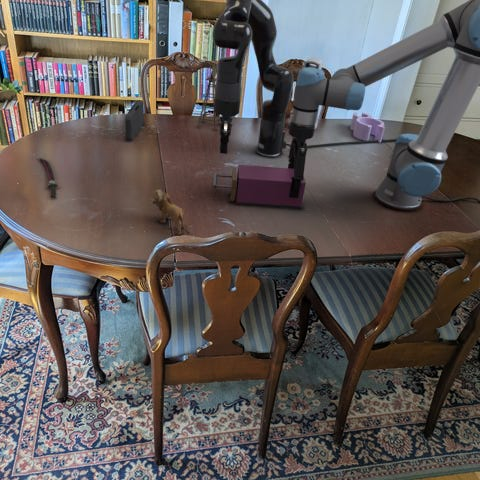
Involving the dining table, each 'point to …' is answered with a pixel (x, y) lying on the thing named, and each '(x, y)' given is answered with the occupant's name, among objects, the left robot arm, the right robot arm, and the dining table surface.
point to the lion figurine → (169, 209)
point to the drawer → (233, 186)
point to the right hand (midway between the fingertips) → (291, 189)
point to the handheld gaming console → (134, 120)
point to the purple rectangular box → (267, 187)
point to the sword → (52, 181)
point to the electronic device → (319, 66)
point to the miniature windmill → (210, 79)
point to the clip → (366, 127)
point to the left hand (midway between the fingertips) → (223, 152)
